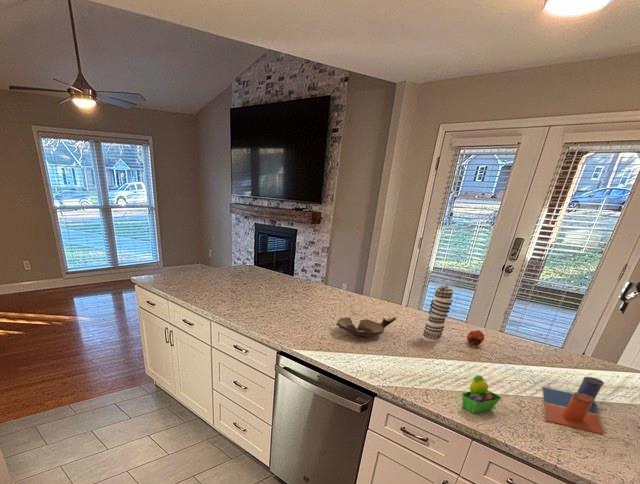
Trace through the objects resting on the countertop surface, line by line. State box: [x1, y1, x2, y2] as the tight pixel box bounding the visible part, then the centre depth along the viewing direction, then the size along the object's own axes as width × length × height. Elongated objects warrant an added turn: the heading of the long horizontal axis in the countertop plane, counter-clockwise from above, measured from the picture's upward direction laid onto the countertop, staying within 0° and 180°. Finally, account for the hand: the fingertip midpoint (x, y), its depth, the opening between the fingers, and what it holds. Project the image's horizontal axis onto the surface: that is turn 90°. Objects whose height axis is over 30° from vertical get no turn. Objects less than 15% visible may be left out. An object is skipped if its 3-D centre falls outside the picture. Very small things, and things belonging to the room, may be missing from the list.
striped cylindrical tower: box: [422, 284, 455, 343], centre depth 197 cm, size 9×9×25 cm
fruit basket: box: [461, 374, 502, 414], centre depth 143 cm, size 11×9×11 cm
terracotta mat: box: [544, 402, 604, 436], centre depth 142 cm, size 16×14×1 cm
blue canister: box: [575, 376, 605, 400], centre depth 151 cm, size 6×6×8 cm
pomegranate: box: [466, 329, 485, 347], centre depth 197 cm, size 7×7×10 cm
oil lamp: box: [335, 316, 397, 337], centre depth 204 cm, size 22×30×8 cm
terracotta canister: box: [563, 392, 596, 422], centre depth 140 cm, size 6×6×8 cm
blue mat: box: [542, 386, 598, 415], centre depth 153 cm, size 16×14×1 cm
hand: (636, 315), depth 144 cm, fingers open, 8 cm apart
